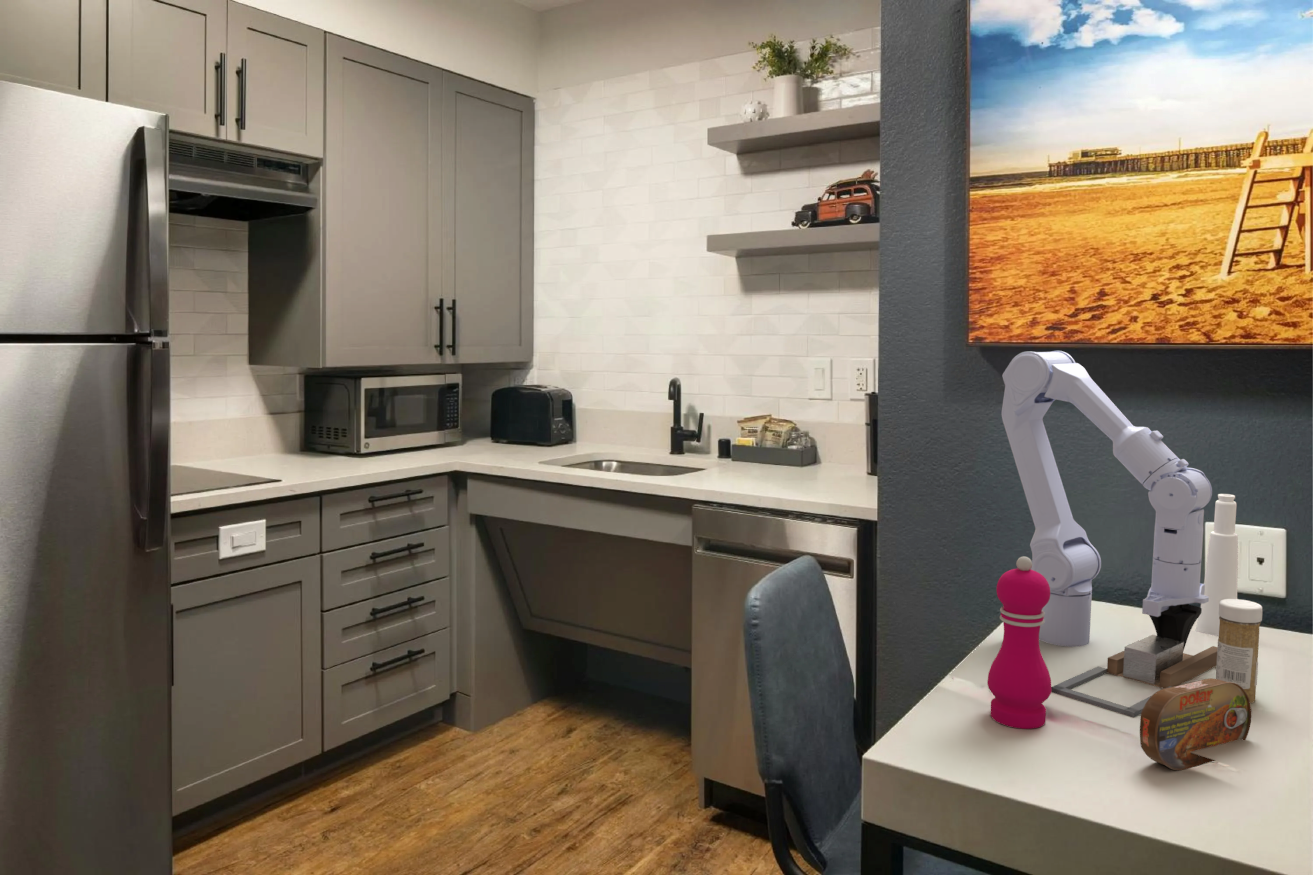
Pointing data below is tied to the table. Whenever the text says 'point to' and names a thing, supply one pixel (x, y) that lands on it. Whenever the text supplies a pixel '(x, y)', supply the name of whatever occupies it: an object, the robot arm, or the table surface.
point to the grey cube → (1174, 646)
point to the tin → (1193, 721)
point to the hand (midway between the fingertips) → (1171, 657)
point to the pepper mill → (1020, 650)
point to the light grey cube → (1145, 661)
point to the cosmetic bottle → (1220, 565)
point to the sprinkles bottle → (1239, 644)
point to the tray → (1085, 677)
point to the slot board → (1172, 667)
